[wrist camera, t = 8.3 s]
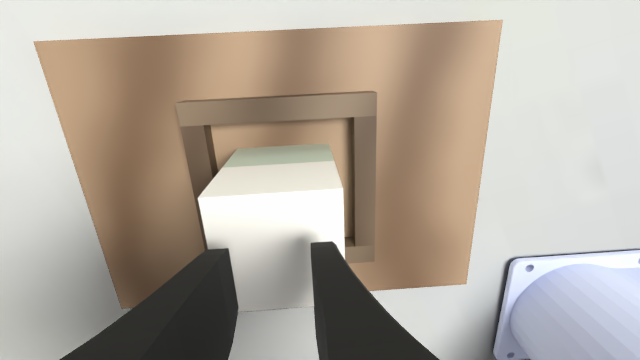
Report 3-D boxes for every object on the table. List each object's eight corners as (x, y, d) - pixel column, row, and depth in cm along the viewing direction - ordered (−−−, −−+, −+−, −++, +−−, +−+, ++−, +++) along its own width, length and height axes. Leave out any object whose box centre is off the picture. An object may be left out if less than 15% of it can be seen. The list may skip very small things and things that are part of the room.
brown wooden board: (489, 22, 15) (517, 16, 13) (458, 273, 19) (475, 295, 18) (51, 43, 14) (12, 39, 12) (130, 296, 19) (111, 322, 17)
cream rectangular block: (328, 143, 15) (343, 188, 10) (331, 223, 17) (346, 304, 11) (237, 148, 15) (197, 197, 9) (249, 229, 17) (220, 313, 11)
